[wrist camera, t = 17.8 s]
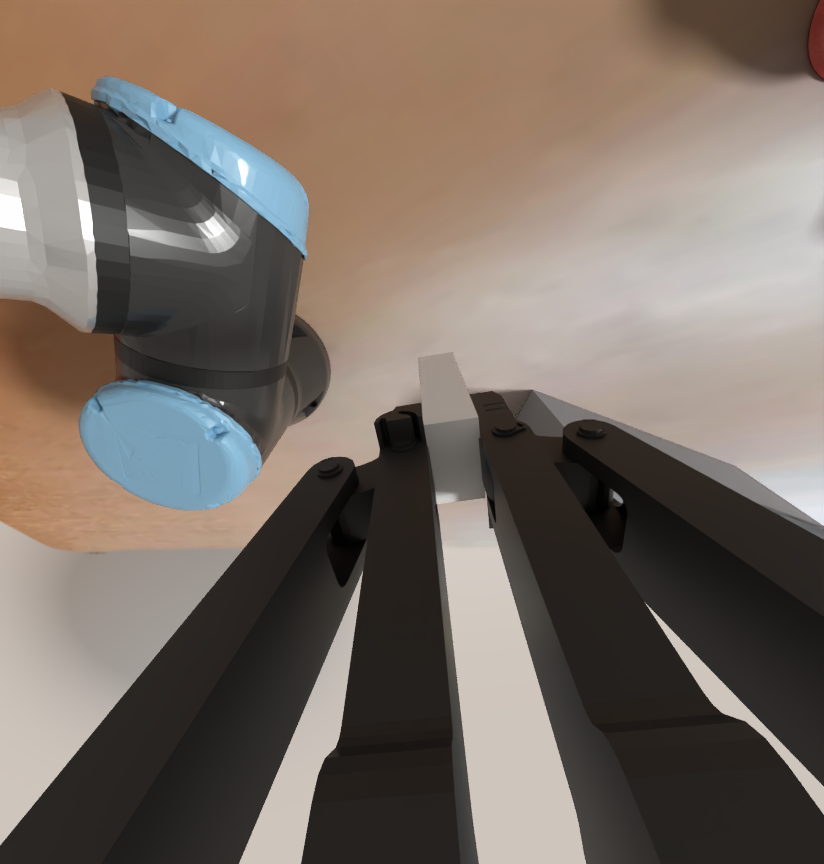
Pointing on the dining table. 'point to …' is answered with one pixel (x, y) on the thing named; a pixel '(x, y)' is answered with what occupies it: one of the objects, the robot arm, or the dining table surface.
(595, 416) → the button console
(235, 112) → the dining table surface
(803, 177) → the dining table surface
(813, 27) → the stacking bear
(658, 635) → the robot arm
